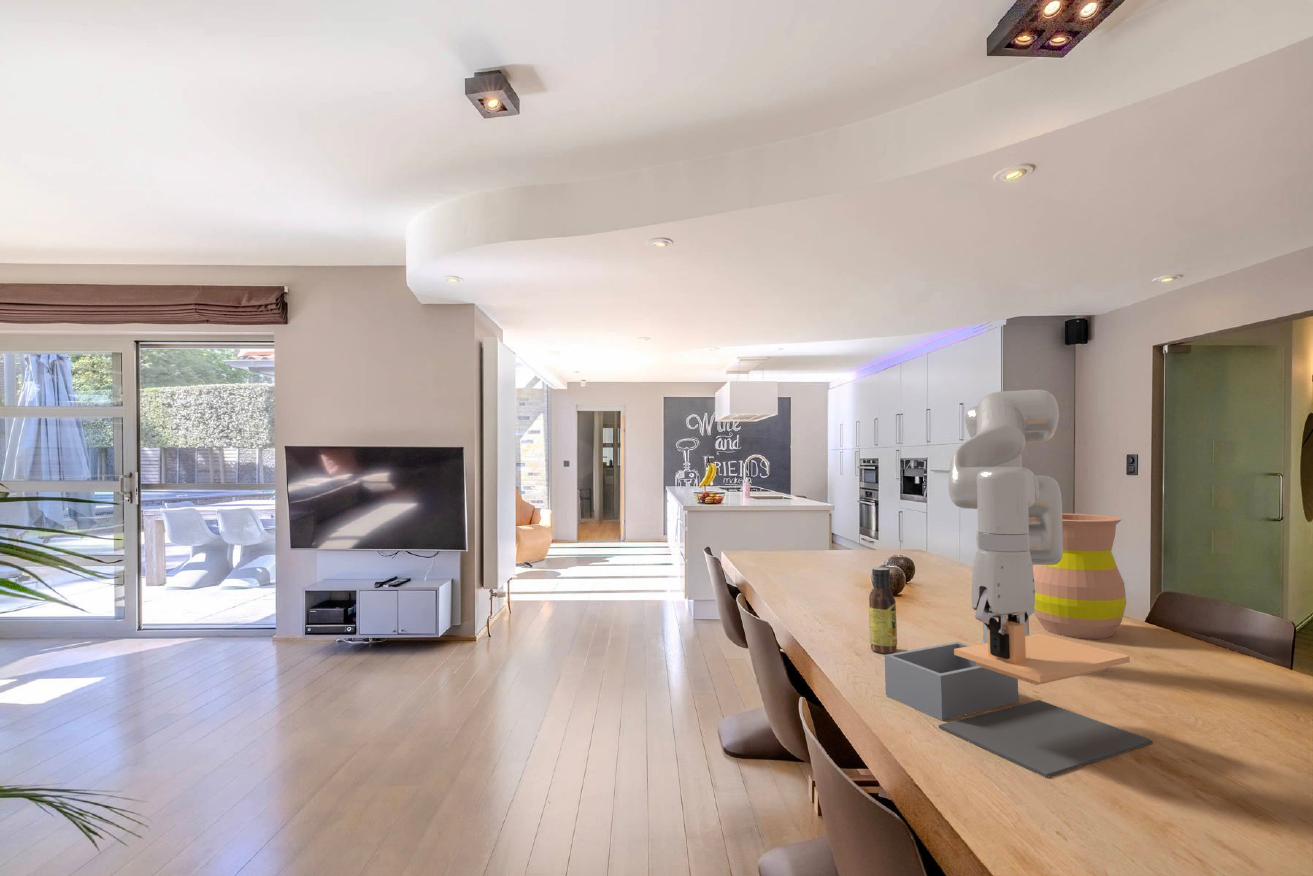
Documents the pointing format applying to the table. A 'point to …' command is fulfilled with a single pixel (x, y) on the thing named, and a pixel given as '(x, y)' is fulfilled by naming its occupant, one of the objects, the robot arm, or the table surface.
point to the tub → (946, 682)
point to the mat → (1045, 737)
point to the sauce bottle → (882, 613)
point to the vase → (1082, 581)
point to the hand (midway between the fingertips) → (1006, 654)
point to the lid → (1041, 657)
